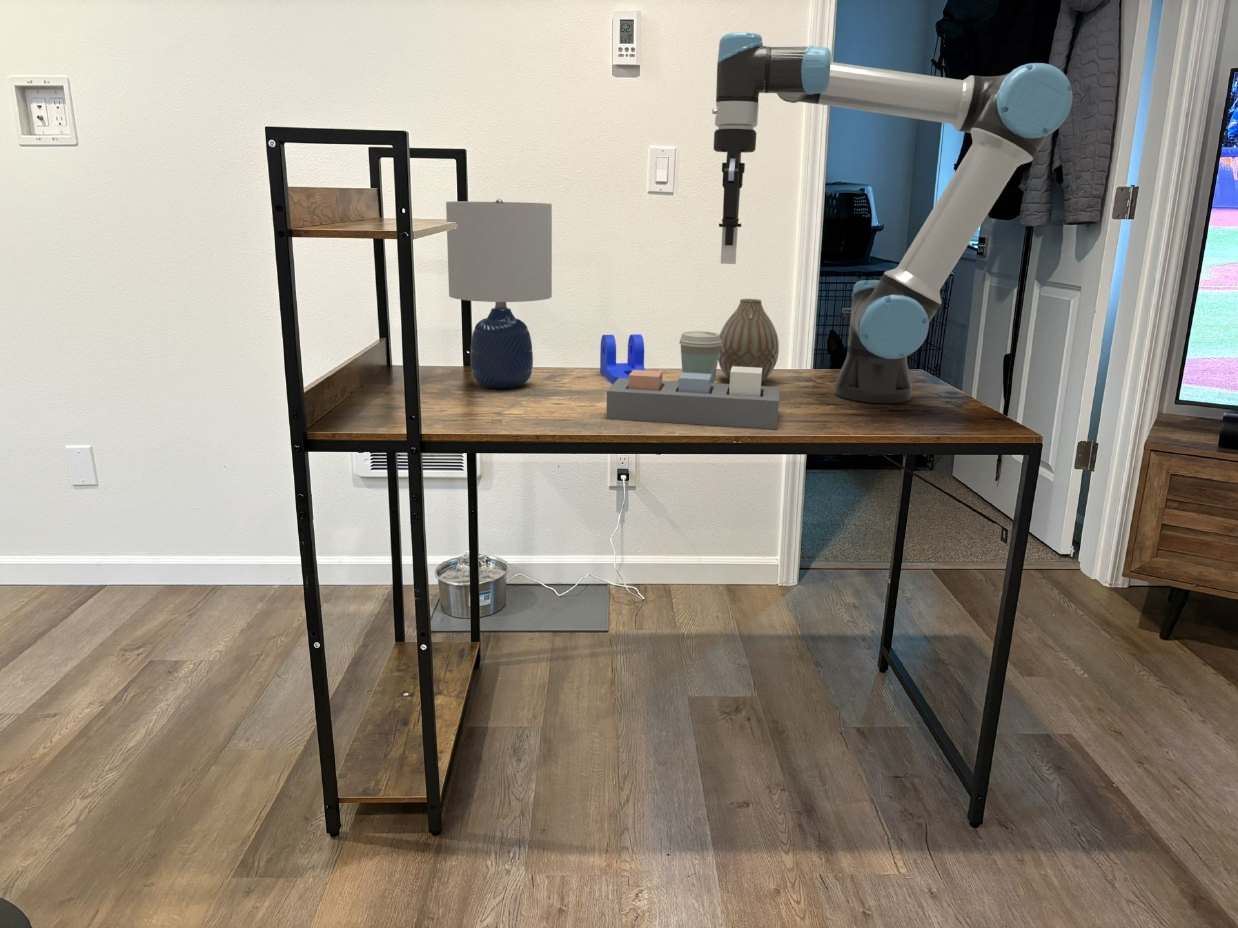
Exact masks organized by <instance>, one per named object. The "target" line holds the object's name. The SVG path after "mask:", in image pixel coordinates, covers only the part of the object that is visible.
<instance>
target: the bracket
mask: <svg viewBox="0 0 1238 928" xmlns="http://www.w3.org/2000/svg"><path fill="white" fill-rule="evenodd" d="M627 341H628V342H627V362H619V363H618V362H617V342H616V338H615V335H614V334H602V336H601V338H600V347H599V348H600V352H599V353H600V358H599V361H600V362H599V364H600V365H599V373H601V375H603V376H604V378H605V379H607V380H608V381H609V382H610V383H611V385H613V384H614V383H615V382H616V380H617V379H618V378H627V379H629V374H630V373H631V372H632V371H633V370H646V369H645V342H644V337H643V335H642V334H634V333H633V334H630V335H629V337H628V340H627Z"/></svg>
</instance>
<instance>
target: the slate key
mask: <svg viewBox="0 0 1238 928" xmlns="http://www.w3.org/2000/svg"><path fill="white" fill-rule="evenodd" d="M711 378H712V374H703V373H685V372H682V371H681V373H680V375H679V377H678V381H679V387H678V392H690V393H707V394H711Z"/></svg>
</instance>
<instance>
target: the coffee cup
mask: <svg viewBox="0 0 1238 928" xmlns="http://www.w3.org/2000/svg"><path fill="white" fill-rule="evenodd" d="M721 342H722V341H721V339H720V333H717V332H713V331H700V330H698V331H697V330H695V331H694V330H693V331H683V332H682V334H681V336H680V338H679V341H678V344H679V345H680V357H681V358H680V359H681V373H682V372H685V373H703V374H712V378H711V383H715V380H716V373H717V369H718V364H719V362H718V357H719V351H720V346H721V345H722V344H721Z"/></svg>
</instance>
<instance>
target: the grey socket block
mask: <svg viewBox="0 0 1238 928" xmlns="http://www.w3.org/2000/svg"><path fill="white" fill-rule="evenodd" d="M628 385H629V379H627V378H618V379H617V380H616V382H615V383H614V384H611V386H610V387H609V388H608V389H607V391H606V419H607V420H620V421H621V420H622V421H623V420H624V421H639V422H640V421H641V422H655V423H656V422H657V423H669V424H670V423H672V424H686V425H687V424H688V425H703V426H718V427H719V426H720V427H735V428H749V429H765V430H766V429H768V430H777V429H778V419H779V417H778V416H779V406H780V405H779V404H780V387H779V386H765V385H761V393H760V397H759V396H742V395H729V387H730V383H716V382H714V383H711V394H707V393H690V392H678V387H679V380H678V381H677V380H676V381H675V380H662V389H661V391H656V390H638V389H628Z"/></svg>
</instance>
